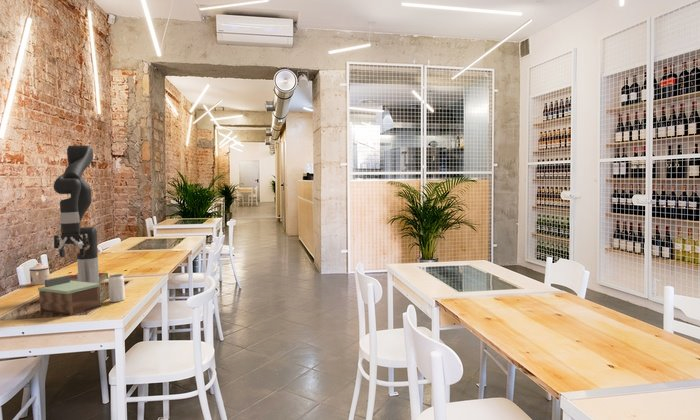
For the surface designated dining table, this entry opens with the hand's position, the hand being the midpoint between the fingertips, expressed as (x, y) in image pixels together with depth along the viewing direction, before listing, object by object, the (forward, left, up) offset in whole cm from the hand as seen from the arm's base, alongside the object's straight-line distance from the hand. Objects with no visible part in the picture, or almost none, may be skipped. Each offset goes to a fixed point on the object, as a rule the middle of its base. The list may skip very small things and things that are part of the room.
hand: (72, 256), depth 205 cm
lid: (+7, -7, -13) cm, 16 cm away
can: (+15, +11, -22) cm, 29 cm away
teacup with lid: (-61, +21, -22) cm, 69 cm away
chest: (+7, -7, -22) cm, 24 cm away
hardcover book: (-41, +34, -23) cm, 58 cm away
